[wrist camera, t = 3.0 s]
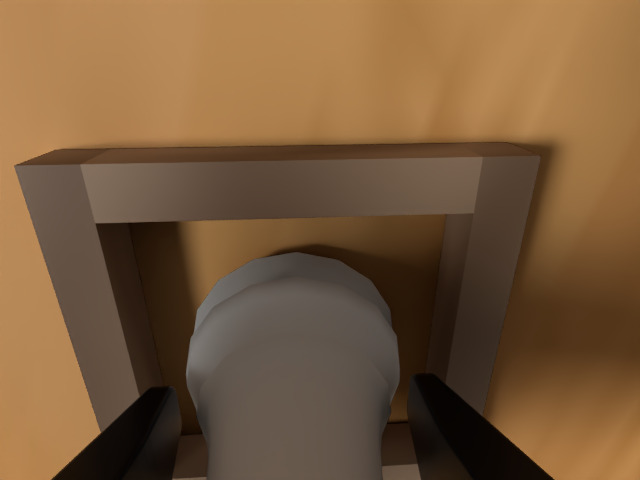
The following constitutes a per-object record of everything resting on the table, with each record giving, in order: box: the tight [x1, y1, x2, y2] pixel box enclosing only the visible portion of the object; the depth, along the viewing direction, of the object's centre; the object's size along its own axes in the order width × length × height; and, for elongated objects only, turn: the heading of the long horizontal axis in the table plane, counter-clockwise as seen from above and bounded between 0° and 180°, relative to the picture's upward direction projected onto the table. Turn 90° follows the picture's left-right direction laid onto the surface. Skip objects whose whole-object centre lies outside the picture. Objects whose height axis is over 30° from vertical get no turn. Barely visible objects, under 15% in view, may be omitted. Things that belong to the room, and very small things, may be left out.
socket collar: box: [14, 142, 541, 480], centre depth 9 cm, size 8×8×1 cm
